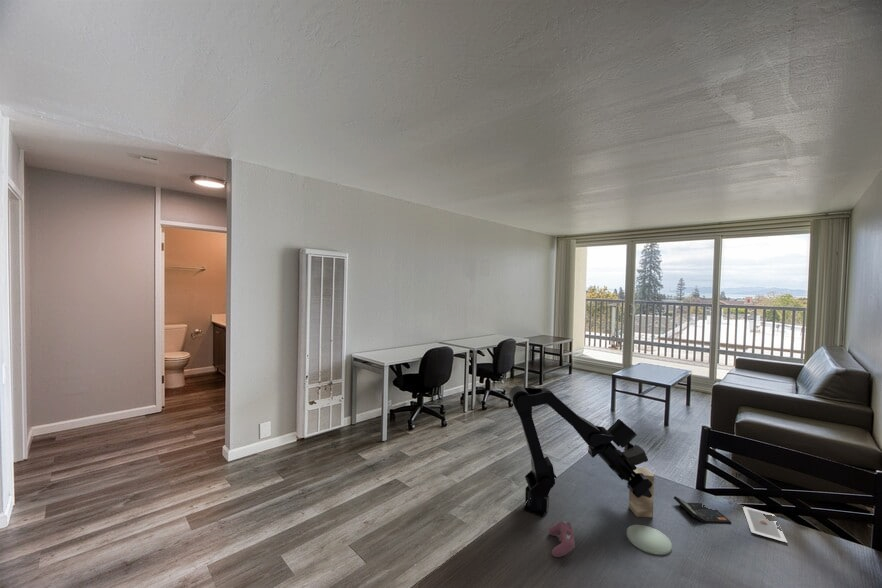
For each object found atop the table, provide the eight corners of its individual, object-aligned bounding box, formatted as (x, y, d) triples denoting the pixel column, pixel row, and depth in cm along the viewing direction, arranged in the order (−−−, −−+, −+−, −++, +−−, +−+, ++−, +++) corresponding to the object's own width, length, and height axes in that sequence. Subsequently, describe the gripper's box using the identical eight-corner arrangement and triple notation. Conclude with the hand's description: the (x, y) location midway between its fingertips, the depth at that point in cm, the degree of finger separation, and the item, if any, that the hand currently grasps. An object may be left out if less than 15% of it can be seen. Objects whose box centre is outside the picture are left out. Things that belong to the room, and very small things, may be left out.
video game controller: (566, 566, 94) (579, 544, 94) (550, 555, 95) (563, 534, 94) (561, 540, 104) (573, 520, 103) (546, 530, 105) (558, 511, 104)
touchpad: (751, 535, 106) (751, 528, 106) (742, 509, 118) (742, 502, 118) (787, 546, 102) (787, 539, 102) (774, 517, 114) (774, 511, 114)
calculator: (731, 524, 110) (731, 514, 110) (692, 523, 111) (692, 513, 111) (708, 505, 120) (709, 496, 120) (673, 504, 120) (673, 495, 120)
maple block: (636, 516, 113) (638, 475, 113) (628, 506, 118) (630, 467, 118) (653, 517, 113) (654, 475, 112) (644, 507, 118) (645, 467, 117)
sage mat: (624, 544, 101) (624, 541, 101) (628, 522, 110) (629, 520, 110) (671, 561, 95) (671, 558, 95) (671, 537, 104) (672, 534, 104)
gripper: (646, 452, 105) (683, 491, 105) (617, 427, 124) (648, 460, 124) (618, 478, 106) (655, 517, 106) (593, 449, 124) (624, 482, 124)
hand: (646, 491), depth 115 cm, fingers closed on maple block, 5 cm apart
